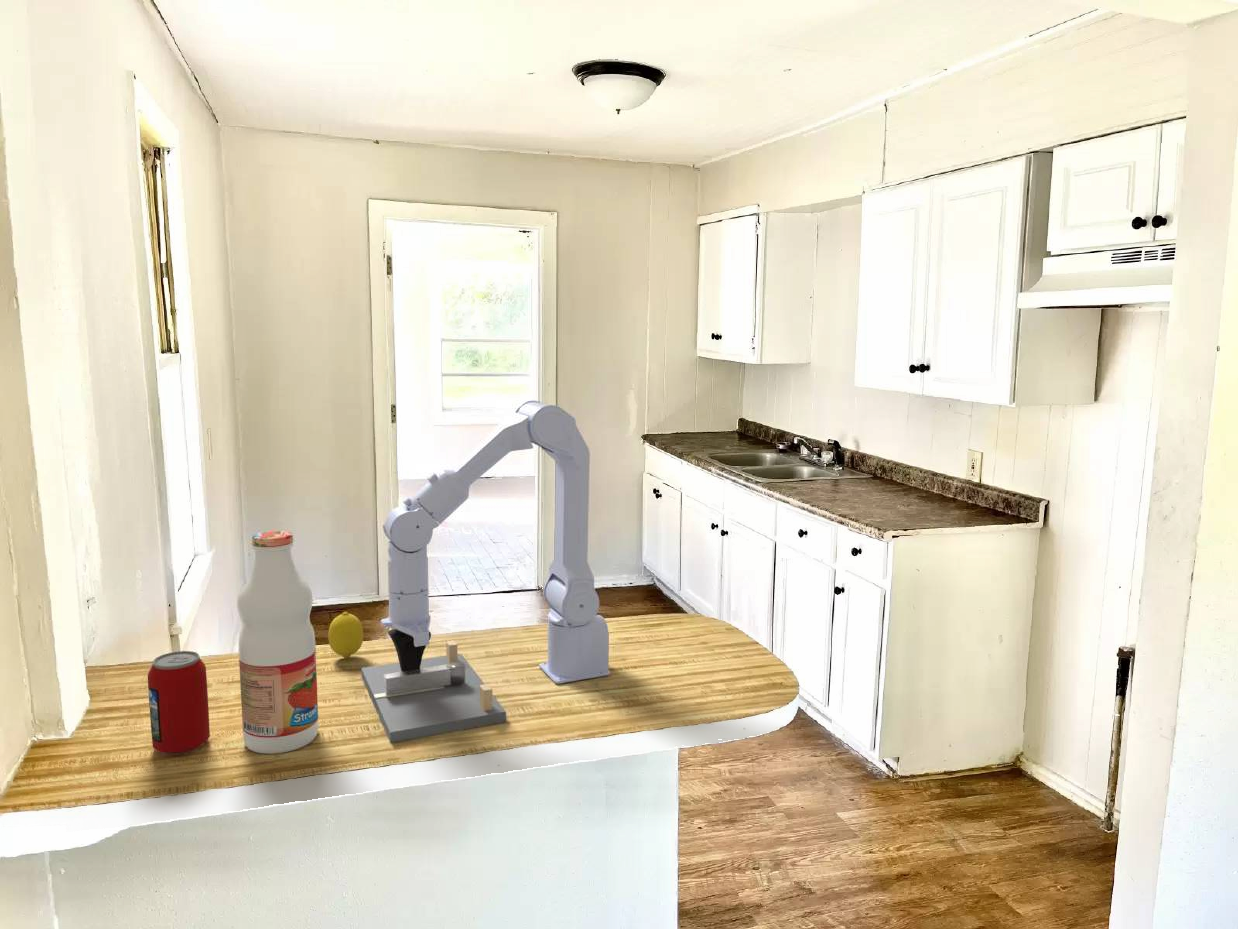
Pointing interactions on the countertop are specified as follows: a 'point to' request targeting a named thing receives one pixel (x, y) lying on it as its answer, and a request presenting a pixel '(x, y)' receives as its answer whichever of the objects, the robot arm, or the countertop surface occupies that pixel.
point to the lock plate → (433, 701)
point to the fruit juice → (277, 651)
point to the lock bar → (424, 678)
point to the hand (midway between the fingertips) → (410, 676)
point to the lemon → (345, 635)
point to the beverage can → (178, 702)
